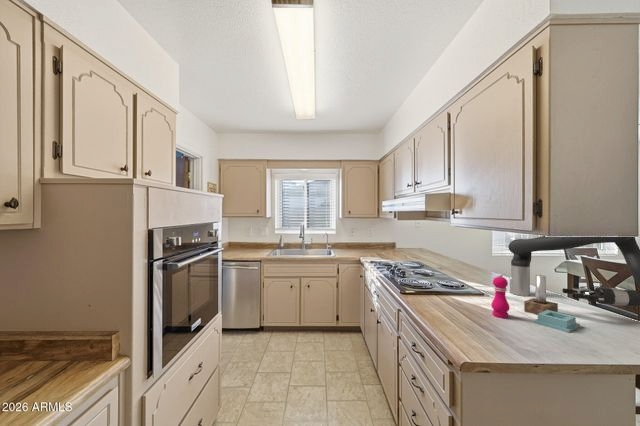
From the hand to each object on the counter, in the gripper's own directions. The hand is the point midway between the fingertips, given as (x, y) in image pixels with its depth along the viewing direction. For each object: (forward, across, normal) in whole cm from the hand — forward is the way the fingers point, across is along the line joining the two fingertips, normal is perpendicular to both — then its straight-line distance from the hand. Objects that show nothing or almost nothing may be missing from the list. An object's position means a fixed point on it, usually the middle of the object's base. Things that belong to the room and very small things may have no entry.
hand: (567, 293), depth 132 cm
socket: (+11, +16, +10) cm, 22 cm away
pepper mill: (+31, +12, +11) cm, 35 cm away
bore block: (+11, 0, +10) cm, 15 cm away
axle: (+11, 0, +10) cm, 15 cm away
